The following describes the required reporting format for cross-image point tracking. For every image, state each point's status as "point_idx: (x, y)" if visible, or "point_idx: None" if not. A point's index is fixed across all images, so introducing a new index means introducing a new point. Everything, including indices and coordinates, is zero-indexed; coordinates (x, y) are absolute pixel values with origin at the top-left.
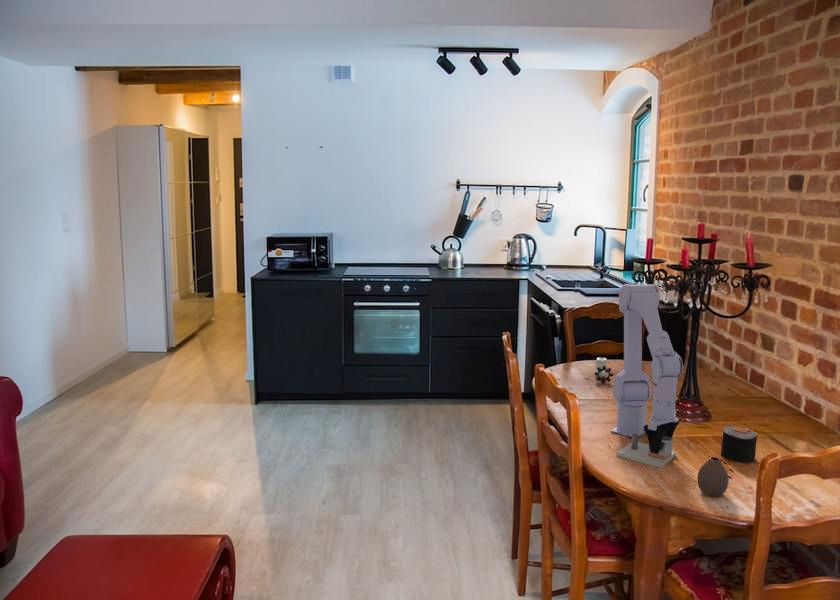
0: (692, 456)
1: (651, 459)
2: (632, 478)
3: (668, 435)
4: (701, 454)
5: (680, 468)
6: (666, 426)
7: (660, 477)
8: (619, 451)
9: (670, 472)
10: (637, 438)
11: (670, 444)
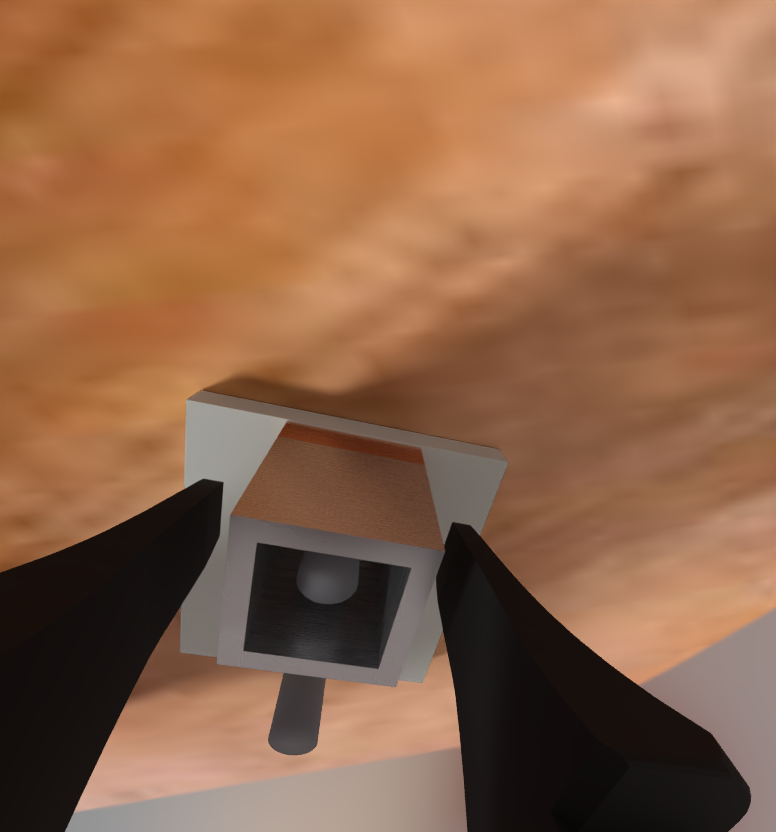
0: (122, 261)
1: (446, 524)
2: (720, 552)
3: (166, 559)
4: (6, 184)
5: (448, 322)
6: (89, 692)
7: (667, 424)
8: (405, 676)
9: (557, 378)
10: (308, 700)
11: (313, 487)
